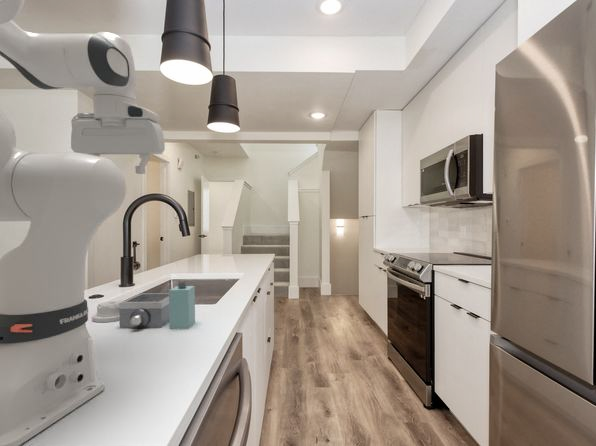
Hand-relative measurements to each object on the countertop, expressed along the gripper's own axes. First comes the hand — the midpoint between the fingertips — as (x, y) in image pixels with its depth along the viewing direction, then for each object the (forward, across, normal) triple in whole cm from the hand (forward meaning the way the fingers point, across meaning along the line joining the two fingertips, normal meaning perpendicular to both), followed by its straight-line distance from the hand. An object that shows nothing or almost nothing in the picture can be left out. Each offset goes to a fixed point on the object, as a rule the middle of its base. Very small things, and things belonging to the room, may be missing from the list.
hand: (120, 173), depth 75 cm
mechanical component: (+41, -13, +14) cm, 45 cm away
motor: (+40, 0, +8) cm, 41 cm away
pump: (+40, +11, +6) cm, 42 cm away
